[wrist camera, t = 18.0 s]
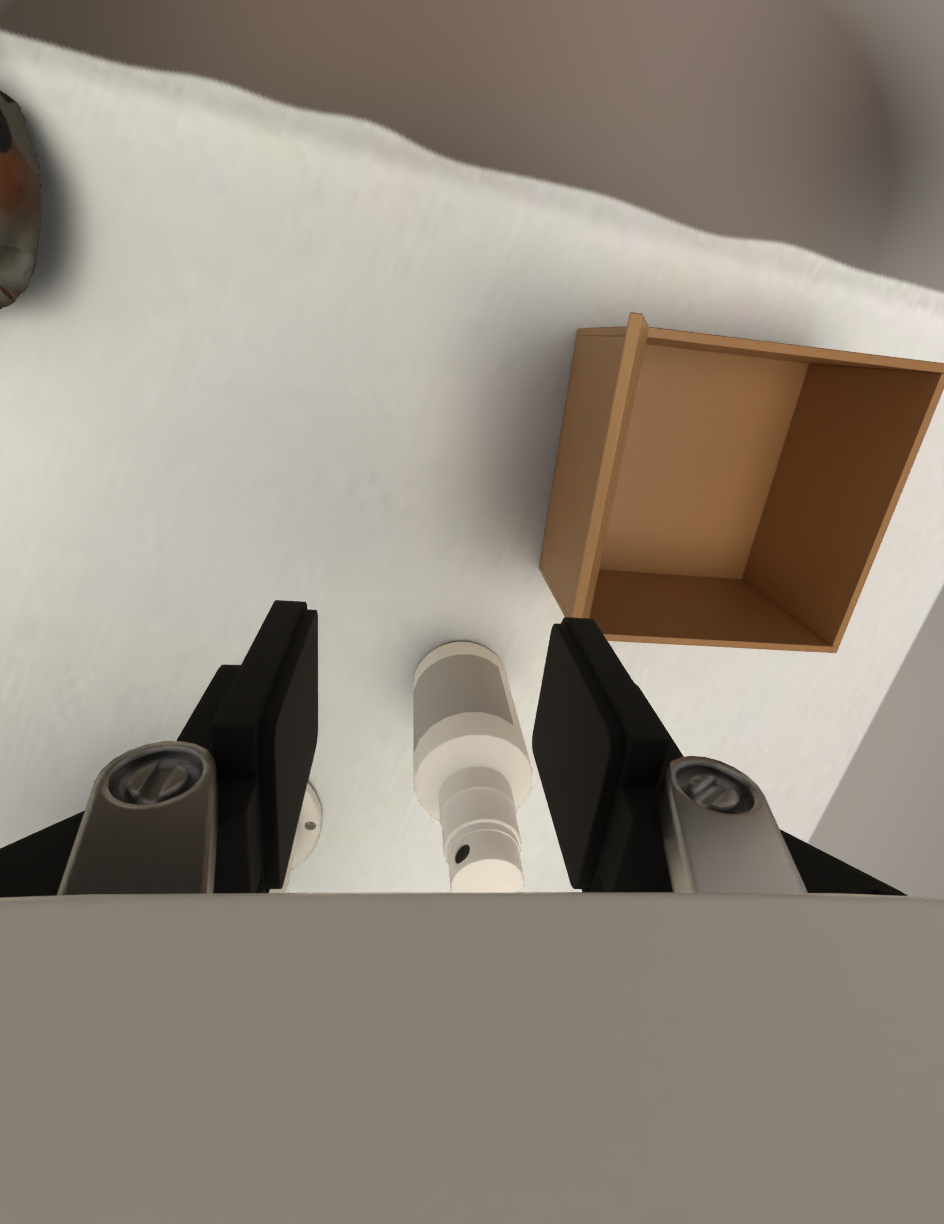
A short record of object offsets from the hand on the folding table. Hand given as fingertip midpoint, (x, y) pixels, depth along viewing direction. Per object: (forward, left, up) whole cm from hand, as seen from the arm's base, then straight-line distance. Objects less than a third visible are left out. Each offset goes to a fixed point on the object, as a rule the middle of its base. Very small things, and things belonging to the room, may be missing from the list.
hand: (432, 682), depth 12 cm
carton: (+16, 0, -27) cm, 32 cm away
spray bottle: (+4, -17, -28) cm, 32 cm away
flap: (+7, 0, -13) cm, 15 cm away
